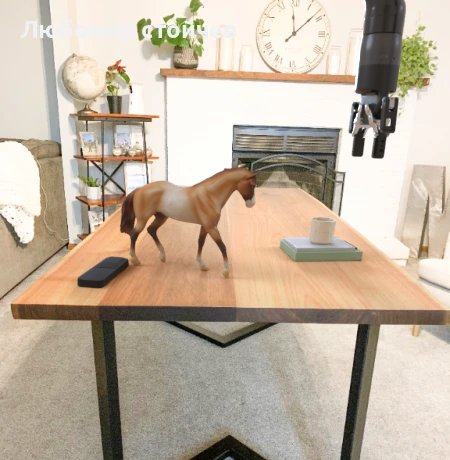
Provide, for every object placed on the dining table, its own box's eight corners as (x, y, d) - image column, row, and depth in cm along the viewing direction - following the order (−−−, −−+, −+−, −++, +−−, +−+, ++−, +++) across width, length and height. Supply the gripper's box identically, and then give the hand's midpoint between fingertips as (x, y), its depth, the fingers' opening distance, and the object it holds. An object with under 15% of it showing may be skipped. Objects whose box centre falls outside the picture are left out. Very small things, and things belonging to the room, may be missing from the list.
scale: (340, 247, 113) (341, 236, 112) (361, 260, 102) (363, 248, 101) (279, 247, 110) (280, 236, 109) (295, 261, 99) (296, 249, 98)
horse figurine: (256, 273, 90) (263, 168, 82) (243, 284, 83) (250, 171, 75) (124, 253, 100) (119, 158, 92) (103, 262, 93) (97, 159, 85)
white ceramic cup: (327, 239, 108) (330, 216, 106) (336, 245, 103) (339, 221, 101) (304, 239, 107) (307, 216, 105) (313, 245, 102) (315, 221, 100)
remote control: (102, 291, 79) (130, 264, 92) (101, 281, 78) (130, 255, 91) (75, 288, 79) (107, 262, 93) (74, 279, 78) (107, 254, 92)
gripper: (419, 60, 75) (403, 159, 81) (378, 71, 88) (367, 156, 94) (378, 57, 74) (365, 159, 80) (343, 69, 87) (334, 155, 93)
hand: (366, 157), depth 87 cm, fingers open, 8 cm apart
